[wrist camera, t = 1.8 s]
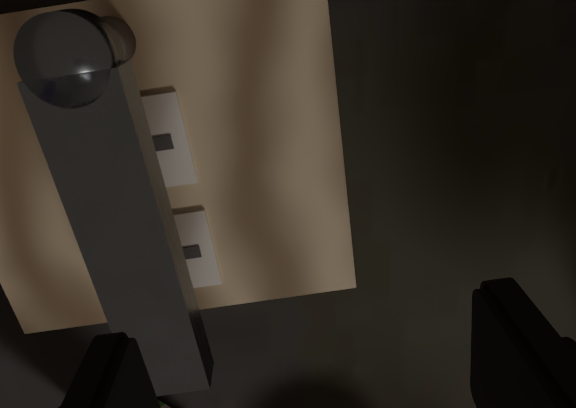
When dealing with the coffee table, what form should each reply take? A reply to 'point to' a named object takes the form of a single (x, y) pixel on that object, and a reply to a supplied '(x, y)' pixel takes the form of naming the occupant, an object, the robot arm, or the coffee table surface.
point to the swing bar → (113, 190)
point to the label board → (197, 157)
